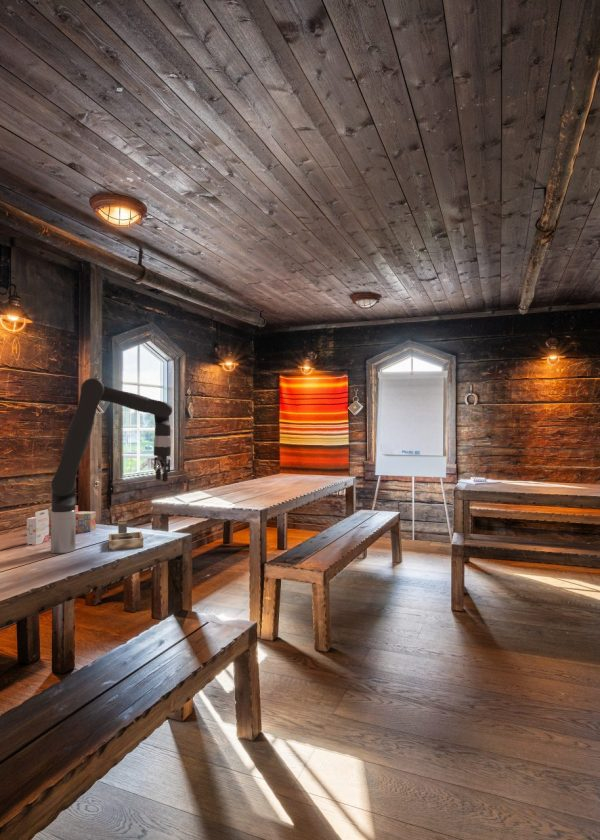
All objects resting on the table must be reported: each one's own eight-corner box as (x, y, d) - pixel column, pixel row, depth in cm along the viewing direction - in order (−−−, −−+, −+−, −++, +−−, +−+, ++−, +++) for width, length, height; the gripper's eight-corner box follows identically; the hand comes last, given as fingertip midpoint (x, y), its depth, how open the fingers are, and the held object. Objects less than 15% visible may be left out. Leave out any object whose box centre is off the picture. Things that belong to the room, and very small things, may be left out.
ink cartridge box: (39, 540, 226) (40, 508, 226) (49, 540, 225) (49, 508, 225) (26, 544, 218) (26, 511, 218) (35, 545, 217) (35, 512, 217)
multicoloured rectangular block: (96, 529, 248) (96, 505, 248) (90, 532, 242) (90, 507, 242) (54, 529, 249) (54, 505, 249) (48, 532, 243) (48, 507, 243)
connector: (118, 540, 225) (118, 521, 225) (118, 538, 228) (118, 519, 228) (126, 539, 226) (126, 520, 226) (126, 538, 230) (126, 519, 230)
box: (109, 550, 208) (109, 541, 208) (108, 543, 220) (108, 534, 220) (143, 547, 213) (143, 538, 213) (141, 540, 225) (141, 531, 225)
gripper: (149, 444, 228) (148, 479, 228) (159, 446, 217) (159, 482, 217) (164, 444, 233) (163, 478, 233) (176, 446, 221) (175, 481, 221)
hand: (161, 480), depth 225 cm, fingers open, 8 cm apart
